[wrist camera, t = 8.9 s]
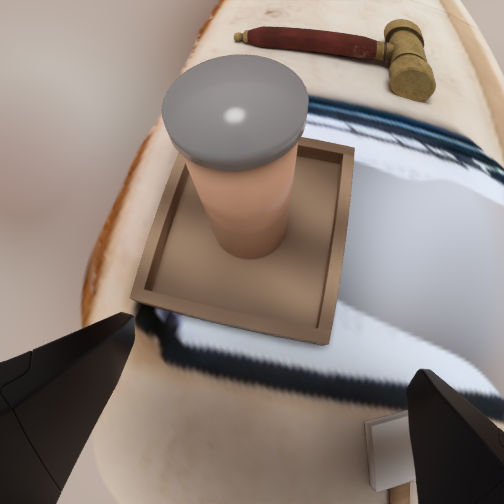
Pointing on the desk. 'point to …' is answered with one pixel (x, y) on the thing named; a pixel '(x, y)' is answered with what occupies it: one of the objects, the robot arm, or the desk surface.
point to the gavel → (361, 51)
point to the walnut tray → (254, 270)
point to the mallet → (390, 456)
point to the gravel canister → (240, 145)
